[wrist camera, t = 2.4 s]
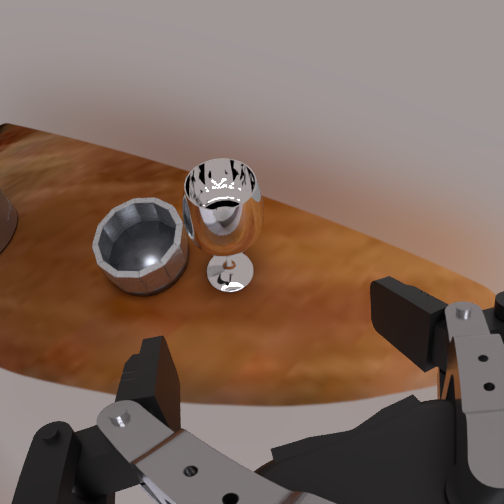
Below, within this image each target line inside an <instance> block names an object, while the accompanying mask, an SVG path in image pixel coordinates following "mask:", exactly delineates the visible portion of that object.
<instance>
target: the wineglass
mask: <svg viewBox="0 0 504 504" xmlns="http://www.w3.org/2000/svg"><path fill="white" fill-rule="evenodd" d="M182 210H183V219H184V225H185V228H186V231H187V233H188V235H189V237H190V239H191V240H192V241H193V243H194V244H195V245H196V246H197V247H198V248H199V249H200V250H202V251H203V252H205V253H207V254H210V255H213V256H214V257H213V258H212V259H211V260H210V262H209V263H208V266H207V273H206V274H207V278H208V280H209V282H210V284H211V285H212V286H213V287H214V288H216V289H217V290H220V291H223V292H236V291H239V290H242V289H243V288H245V287H246V286H247V285H248V284H249V283H250V281H251V280H252V278H253V273H254V269H253V265H252V262H251V261H250V259H249V258H248V257H247V256H246V255H245V254H243V253H242V252H244V251H245V250H247V249H248V248H250V247H251V246H252V245H253V244H254V242H255V241H256V240H257V238H258V236H259V235H260V232H261V229H262V226H263V221H264V207H263V199H262V195H261V192H260V188H259V185H258V182H257V180H256V176H255V174H254V173H253V171H252V170H251V169H250V168H249V167H248V166H247V165H245V164H244V163H242V162H239V161H237V160H233V159H225V158H220V159H212V160H209V161H206V162H204V163H202V164H200V165H198V166H196V167H195V168H194V169H193V170H192V171H191V172H190V173H189V174H188V176H187V178H186V180H185V184H184V190H183V200H182Z"/></svg>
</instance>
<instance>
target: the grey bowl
mask: <svg viewBox="0 0 504 504" xmlns="http://www.w3.org/2000/svg"><path fill="white" fill-rule="evenodd" d="M92 247H93V251H94V254H95V257H96V261H97V264H98V266H99V267H100V268H101V269H102V271H103V272H104V273H105V274H106V276H107V277H108V278H109V279H110V281H112V282H113V283H115V285H116V286H117V287H118V288H119V289H121V290H122V291H124V292H125V293H128V294H130V295H134V296H152V295H155V294H158V293H161V292H163V291H165V290H167V289H168V288H170V287H171V286H172V285H174V284H175V283H176V282H177V281H178V280H179V278H180V277H181V276H182V274H183V273H184V271H185V269H186V266H187V263H188V259H189V248H188V239H187V236H186V232H185V229H184V225H183V222H182V220H181V219H180V217H179V215H178V213H177V211H176V210H175V208H174V207H173V206H172V205H170V204H168V203H166V202H164V201H162V200H160V199H157V198H135V199H132V200H130V201H128V202H125V203H123V204H121V205H119V206H117V207H115V208H114V209H112V210H111V211H110V212H109V214H108V215H107V216H106V217H105V218H104V219H103V220H102V221H101V223H100V224H99V226H98V227H97V230H96V234H95V237H94V241H93V244H92Z"/></svg>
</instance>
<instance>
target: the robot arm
mask: <svg viewBox="0 0 504 504" xmlns="http://www.w3.org/2000/svg"><path fill="white" fill-rule="evenodd" d="M16 225H17V212H16V210H15V208H14V207H13V206H12V204H11V203H10V201H9V200H8V198H6V196H5V195H4V194H3V192H2V191H1V189H0V252H1V251H2V250H3V249H4V248H5V246H6V245H7V244H8V242H9V241H10V239H11V237H12V235H13V233H14V231H15V228H16ZM370 295H371V319H372V323H373V326H374V328H375V330H376V331H377V332H378V333H379V334H380V335H381V336H383V337H384V338H385V339H386V340H387V341H389V342H390V343H391V344H392V345H393V346H394V347H396V348H397V349H398V350H399V351H400V352H402V353H403V354H404V355H405V356H406V357H407V358H409V359H410V360H411V361H412V362H413V363H414V364H416V365H417V366H418V367H419V368H420V369H421V370H423V371H424V372H427V371H429V370H431V369H433V368H434V367H436V366H437V367H438V374H437V388H438V399H437V400H429V401H424V402H420V401H419V400H418V399H417V398H416V397H415V396H414V395H411V396H409V397H407V398H405V399H403V400H401V401H398V402H396V403H394V404H392V405H390V406H388V407H386V408H383V409H382V410H380V411H379V412H378V413H376V414H375V415H373V416H372V417H371V418H369V419H368V420H366V421H365V422H363V423H362V424H360V425H359V426H358V427H356V428H354V429H352V430H349V431H345V432H339V433H333V434H327V435H321V436H314V437H309V438H305V439H302V440H299V441H296V442H293V443H289V444H286V445H283V446H279V447H276V448H272V449H271V452H272V456H273V460H272V461H270V462H268V463H266V464H265V465H263V466H261V467H260V468H258V469H257V470H256V471H254V472H253V471H251V470H249V469H247V468H245V467H244V466H242V465H240V464H238V463H237V462H235V461H233V460H232V459H230V458H228V457H227V456H225V455H223V454H222V453H220V452H219V451H217V450H216V449H214V448H212V447H211V446H209V445H208V444H206V443H205V442H203V441H202V440H200V439H199V438H197V437H196V436H194V435H193V434H191V433H190V432H188V431H186V430H184V429H182V428H181V424H180V383H179V378H178V374H177V371H176V368H175V365H174V363H173V360H172V357H171V354H170V351H169V349H168V346H167V343H166V340H165V338H164V336H158V337H153V338H148V339H143V341H142V346H141V350H140V354H135V355H132V356H131V357H130V358H129V360H128V361H127V362H126V363H125V366H124V369H123V374H122V377H121V381H120V384H119V388H118V391H117V395H116V399H115V403H112V404H110V405H108V406H107V407H105V408H104V409H103V410H102V411H101V412H100V414H99V415H98V418H97V425H95V426H93V427H90V428H87V429H84V430H81V431H77V432H74V431H73V429H72V428H71V427H70V425H69V424H68V423H66V422H61V421H57V422H52V423H49V424H47V425H45V426H43V427H42V428H40V429H39V430H38V431H37V432H36V434H35V435H34V437H33V440H32V443H31V445H30V448H29V451H28V454H27V457H26V460H25V462H24V465H23V469H22V472H21V474H20V477H19V481H18V484H17V487H16V490H15V494H14V497H13V501H12V504H115V492H117V491H120V490H123V489H126V488H129V487H132V486H135V485H139V486H140V487H141V488H142V489H143V490H144V491H145V492H146V493H147V494H148V495H149V496H150V497H151V498H152V499H153V500H154V501H155V502H156V503H157V504H504V291H503V292H500V293H498V294H497V295H496V297H495V305H494V308H490V309H486V310H482V309H481V308H480V307H479V306H478V305H476V304H474V303H470V302H455V303H452V304H450V305H448V304H446V303H444V302H442V301H441V300H439V299H437V298H435V297H433V296H430V295H429V294H427V293H426V292H423V291H422V290H420V289H418V288H416V287H414V286H410V285H405V284H403V283H401V282H400V281H398V280H396V279H394V278H392V277H390V276H388V277H385V278H382V279H379V280H375V281H373V282H372V283H371V285H370Z"/></svg>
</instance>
